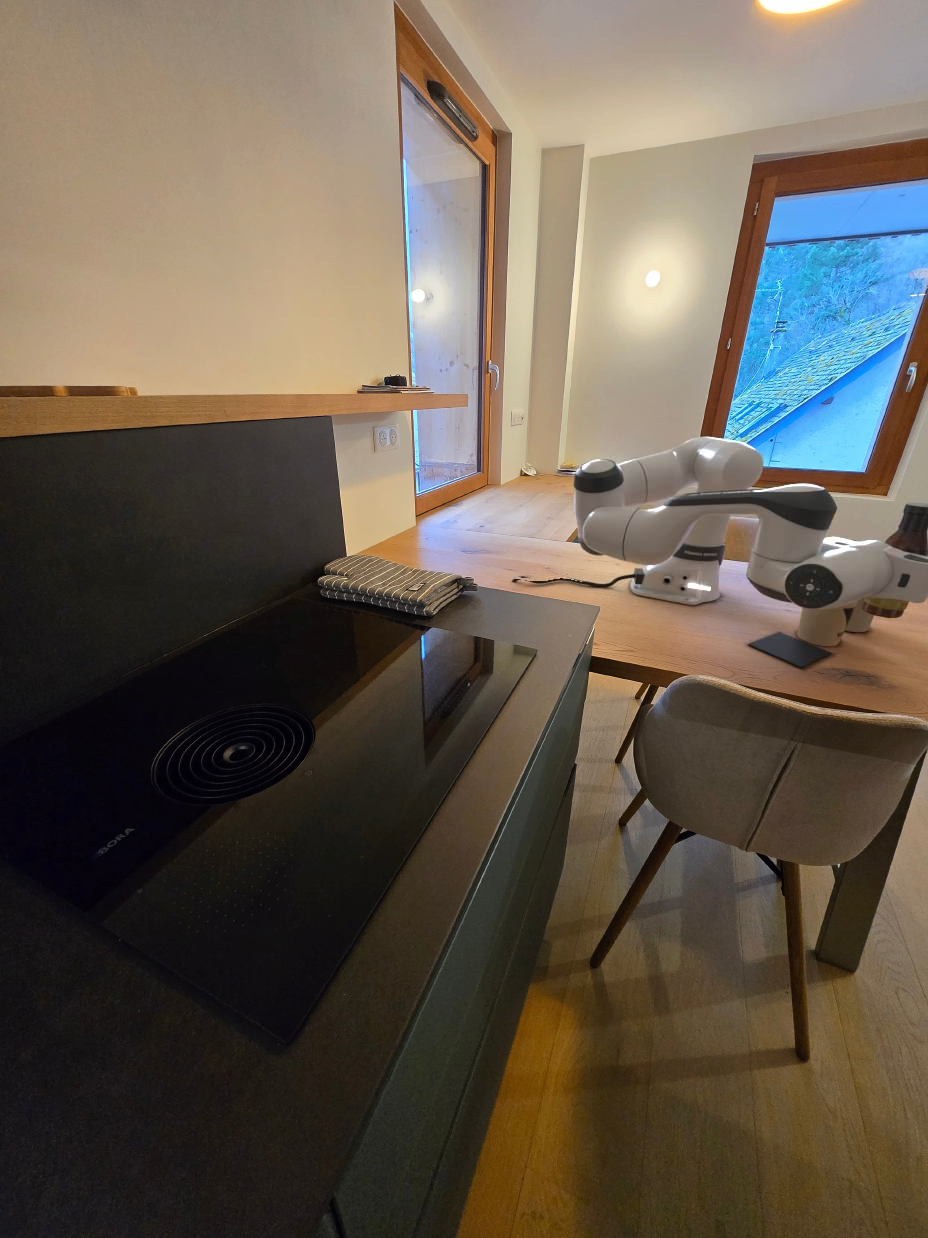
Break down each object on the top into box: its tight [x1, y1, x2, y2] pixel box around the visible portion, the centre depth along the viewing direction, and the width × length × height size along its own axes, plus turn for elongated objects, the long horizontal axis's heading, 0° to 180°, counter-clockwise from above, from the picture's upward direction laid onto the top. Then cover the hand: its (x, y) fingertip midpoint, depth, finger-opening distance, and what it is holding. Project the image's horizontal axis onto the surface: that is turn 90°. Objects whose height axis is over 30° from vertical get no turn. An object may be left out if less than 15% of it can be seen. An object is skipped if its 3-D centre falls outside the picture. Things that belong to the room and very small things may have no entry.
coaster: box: [747, 631, 833, 669], centre depth 103 cm, size 11×11×1 cm
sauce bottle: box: [862, 502, 928, 619], centre depth 86 cm, size 7×6×20 cm
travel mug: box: [844, 598, 875, 633], centre depth 109 cm, size 8×8×18 cm
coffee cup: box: [797, 601, 858, 647], centre depth 105 cm, size 9×9×12 cm
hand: (905, 554), depth 86 cm, fingers closed on sauce bottle, 6 cm apart
